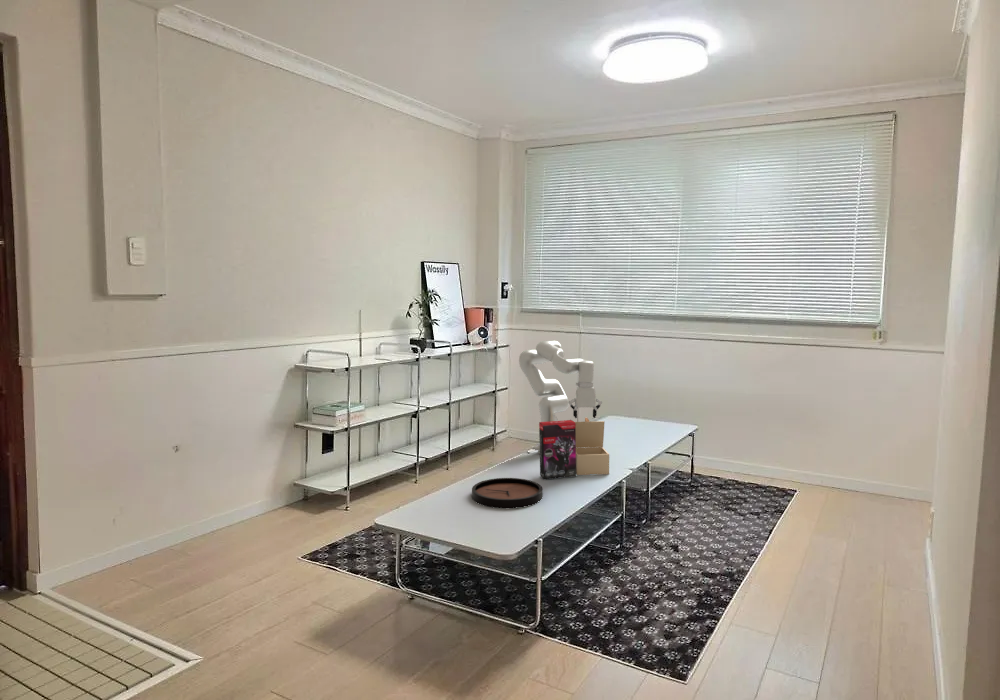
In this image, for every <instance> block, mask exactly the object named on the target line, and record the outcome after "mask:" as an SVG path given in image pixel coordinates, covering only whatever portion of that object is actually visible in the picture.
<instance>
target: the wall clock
mask: <svg viewBox="0 0 1000 700" xmlns="http://www.w3.org/2000/svg"><path fill="white" fill-rule="evenodd" d="M543 492H544V489H543V487H542V485H541V484H540V483H538V482H536V481H533V480H530V479H526V478H517V477H499V478H489V479H485V480H482V481H479V482H477V483H476V484H474V485H472V488H471V498H472V500H473V501H474V502H475V503H476V502H477V503H476V504H478V503H479V504H478V505H480V504H481V505H480V506H483V505H484V507H487V508H493V507H494V509H506V508H509V509H517V508H516V507H522V508H525V507H524V506H527V507H529V506H528V505H531V506H533V505H532V504H534V505H536V504H538V503H539V502H538V501H540V500H541V499H542V500H543V498H542V497H543V496H544V493H543ZM542 500H541V501H542ZM541 501H540V502H541ZM537 502H538V503H537ZM535 503H536V504H535Z"/></svg>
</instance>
